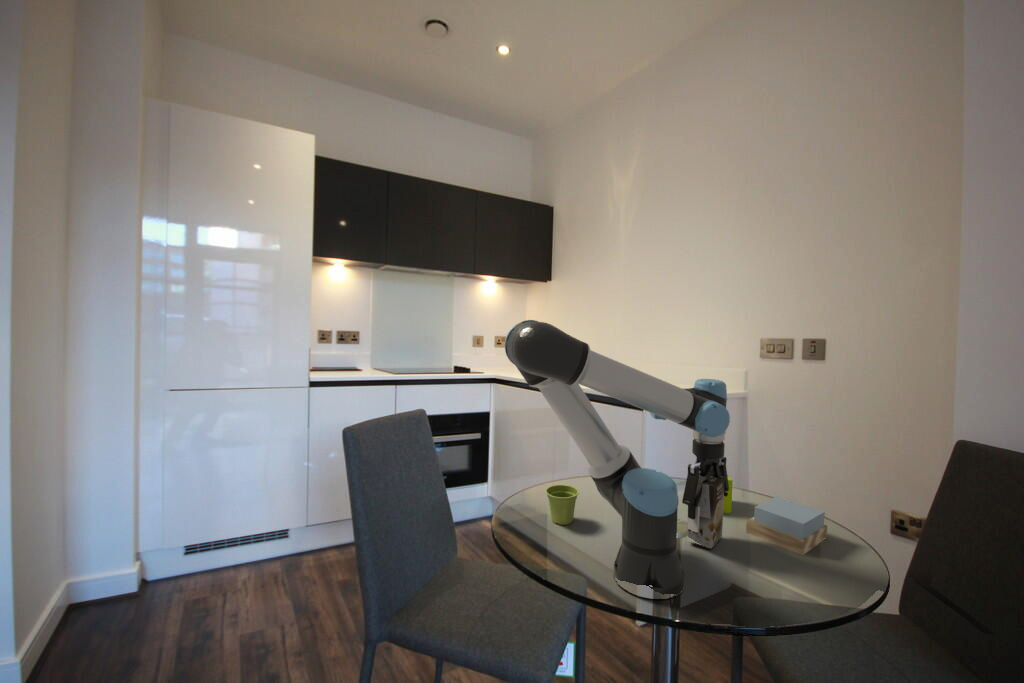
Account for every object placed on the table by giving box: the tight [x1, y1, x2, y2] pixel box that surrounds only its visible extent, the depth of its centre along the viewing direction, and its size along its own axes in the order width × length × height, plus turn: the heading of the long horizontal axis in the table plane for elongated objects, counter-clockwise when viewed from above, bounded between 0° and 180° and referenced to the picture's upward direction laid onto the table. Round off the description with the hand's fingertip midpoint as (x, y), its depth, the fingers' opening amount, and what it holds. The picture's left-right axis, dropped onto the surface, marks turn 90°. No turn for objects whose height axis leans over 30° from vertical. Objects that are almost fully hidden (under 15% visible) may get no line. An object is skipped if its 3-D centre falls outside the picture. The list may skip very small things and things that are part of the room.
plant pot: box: [545, 484, 580, 526], centre depth 133 cm, size 9×9×9 cm
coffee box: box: [686, 475, 725, 549], centre depth 120 cm, size 9×6×16 cm
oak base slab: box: [745, 516, 828, 556], centre depth 124 cm, size 14×14×4 cm
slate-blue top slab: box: [753, 495, 826, 540], centre depth 123 cm, size 12×12×4 cm
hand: (705, 524), depth 121 cm, fingers closed on coffee box, 10 cm apart
